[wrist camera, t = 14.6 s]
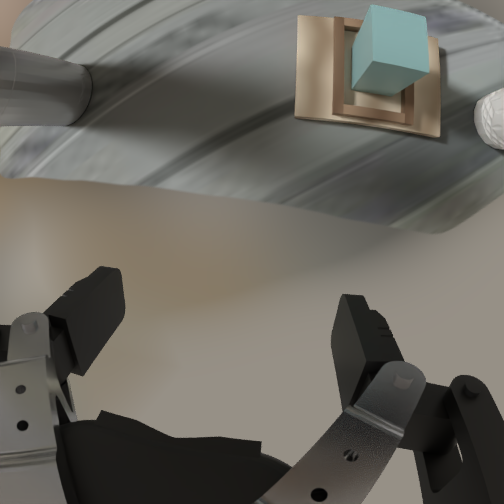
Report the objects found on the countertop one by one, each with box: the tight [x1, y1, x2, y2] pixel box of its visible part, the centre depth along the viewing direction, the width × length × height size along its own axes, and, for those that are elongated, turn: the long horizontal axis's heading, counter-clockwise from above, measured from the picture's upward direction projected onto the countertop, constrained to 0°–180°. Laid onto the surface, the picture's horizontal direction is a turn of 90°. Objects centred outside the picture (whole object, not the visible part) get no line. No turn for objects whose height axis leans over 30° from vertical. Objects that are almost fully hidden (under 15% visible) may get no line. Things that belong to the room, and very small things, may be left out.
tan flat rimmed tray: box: [295, 15, 441, 138], centre depth 27 cm, size 16×12×4 cm
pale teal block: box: [351, 4, 429, 97], centre depth 22 cm, size 4×5×11 cm
